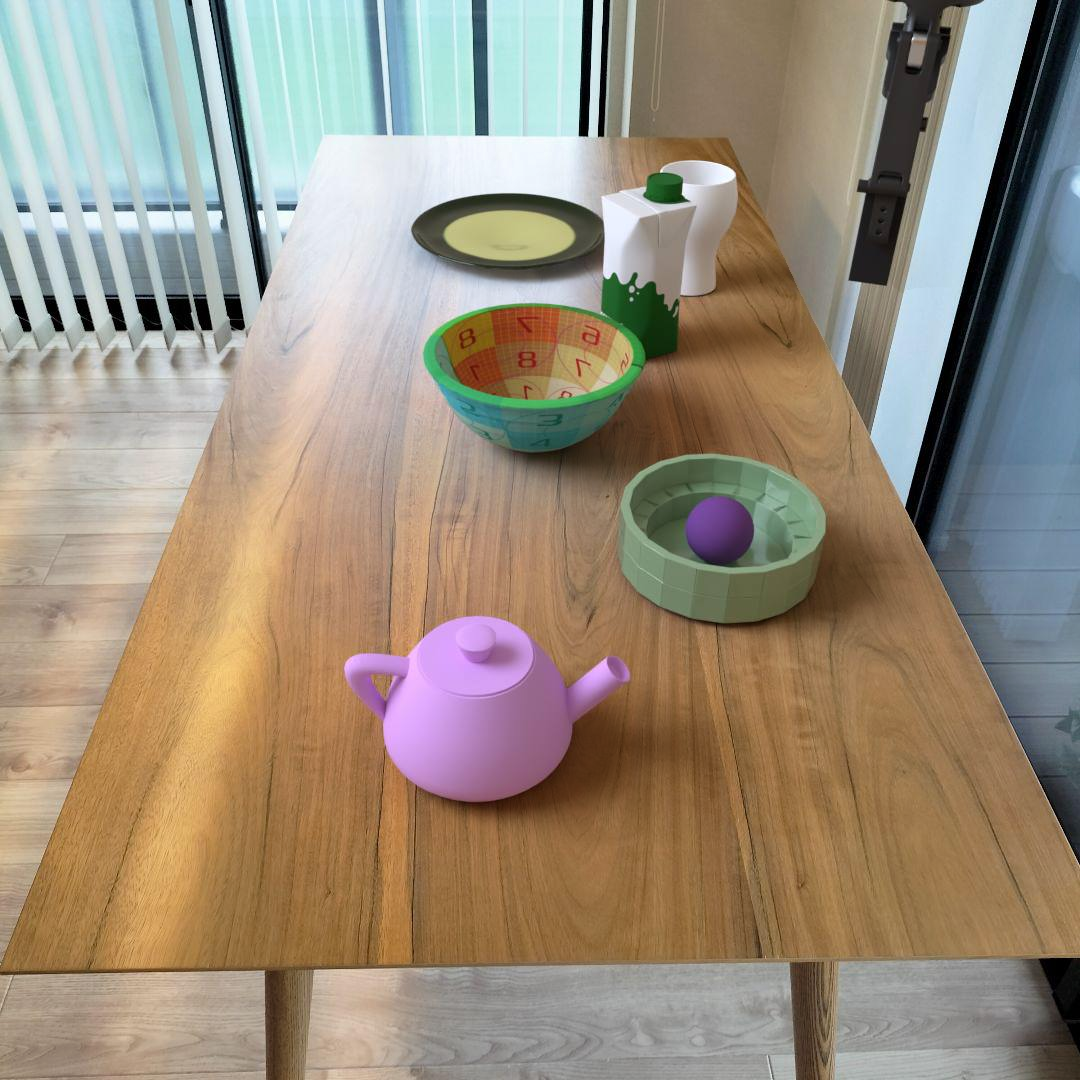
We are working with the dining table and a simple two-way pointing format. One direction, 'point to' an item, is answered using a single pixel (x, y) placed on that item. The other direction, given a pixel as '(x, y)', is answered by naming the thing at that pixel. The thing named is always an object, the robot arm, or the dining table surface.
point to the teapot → (478, 708)
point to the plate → (509, 231)
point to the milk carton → (646, 259)
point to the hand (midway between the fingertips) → (874, 246)
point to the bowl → (534, 372)
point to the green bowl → (734, 588)
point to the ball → (719, 530)
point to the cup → (705, 219)
